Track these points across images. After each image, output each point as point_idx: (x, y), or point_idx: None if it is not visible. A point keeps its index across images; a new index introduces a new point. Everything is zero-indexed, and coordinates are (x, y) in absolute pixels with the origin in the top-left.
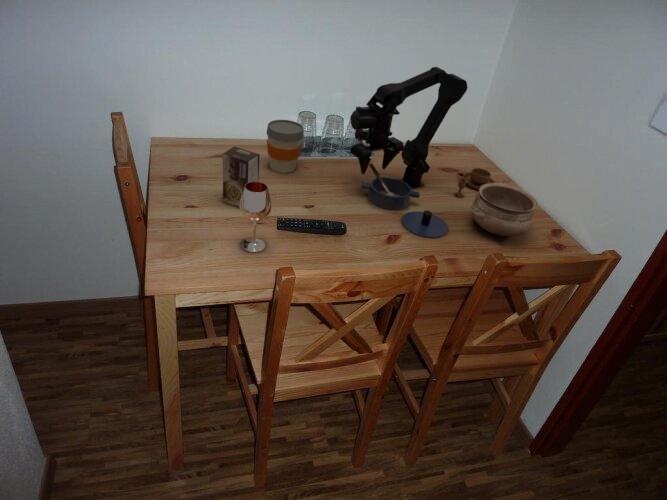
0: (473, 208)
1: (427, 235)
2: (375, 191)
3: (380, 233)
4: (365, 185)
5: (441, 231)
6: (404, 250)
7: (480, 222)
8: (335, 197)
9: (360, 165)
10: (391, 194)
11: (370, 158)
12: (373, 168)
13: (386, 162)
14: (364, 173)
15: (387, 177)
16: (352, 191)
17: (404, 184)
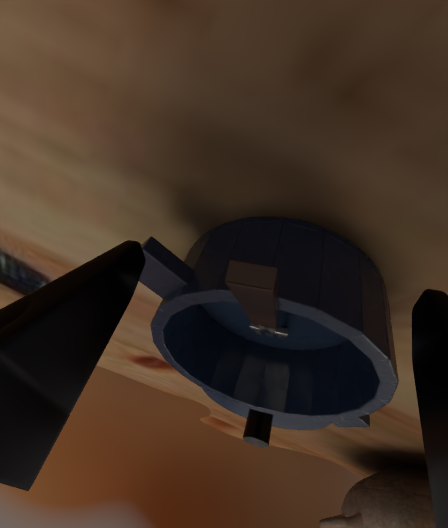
0: (372, 520)
1: (227, 407)
2: (154, 341)
3: (134, 344)
4: (142, 280)
5: (273, 422)
6: (157, 381)
7: (348, 496)
8: (38, 146)
9: (49, 293)
10: (276, 334)
11: (23, 489)
12: (247, 301)
13: (432, 410)
14: (137, 273)
15: (345, 330)
16: (155, 141)
17: (371, 392)
